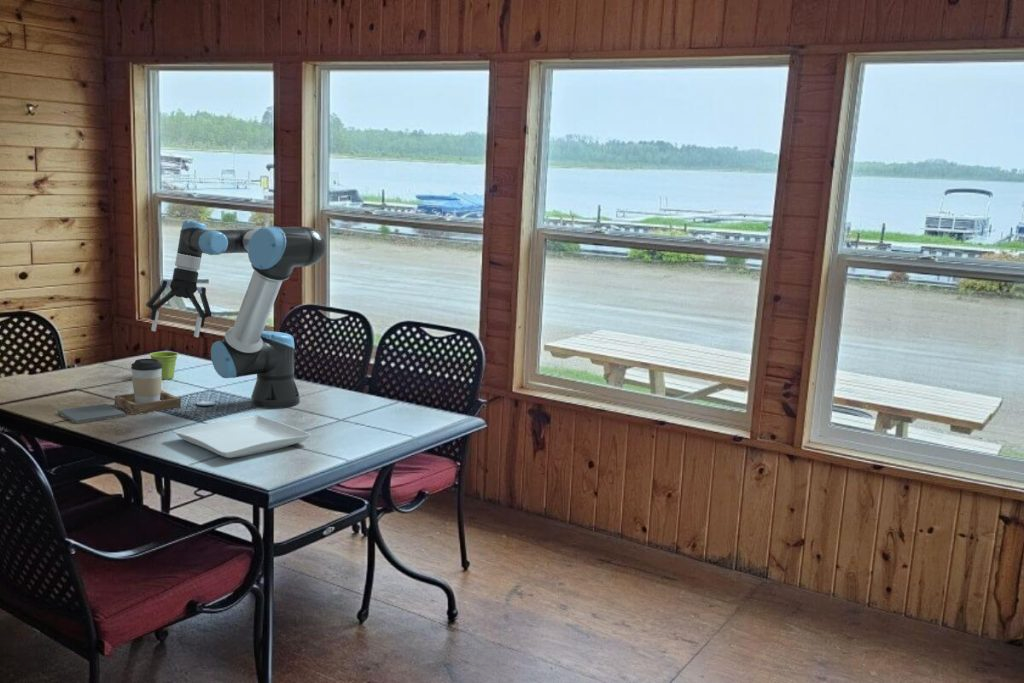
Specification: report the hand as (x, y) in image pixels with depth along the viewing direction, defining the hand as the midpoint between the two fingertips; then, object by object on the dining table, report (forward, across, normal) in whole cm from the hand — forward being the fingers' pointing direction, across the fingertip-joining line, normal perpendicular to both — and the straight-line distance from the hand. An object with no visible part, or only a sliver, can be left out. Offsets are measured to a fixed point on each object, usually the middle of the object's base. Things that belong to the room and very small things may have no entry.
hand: (175, 334), depth 293 cm
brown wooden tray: (+23, +7, +9) cm, 25 cm away
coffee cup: (+23, +7, +9) cm, 26 cm away
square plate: (+23, -7, +58) cm, 63 cm away
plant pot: (+18, -7, -28) cm, 35 cm away
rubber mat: (+26, +23, +12) cm, 37 cm away
